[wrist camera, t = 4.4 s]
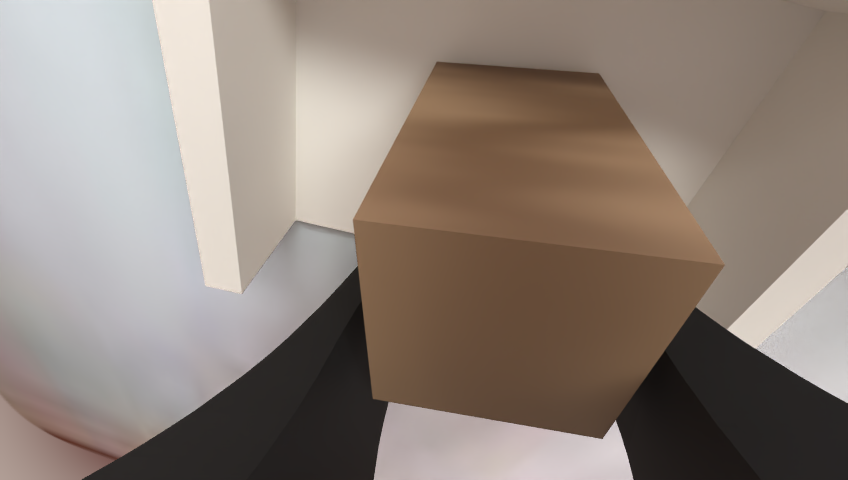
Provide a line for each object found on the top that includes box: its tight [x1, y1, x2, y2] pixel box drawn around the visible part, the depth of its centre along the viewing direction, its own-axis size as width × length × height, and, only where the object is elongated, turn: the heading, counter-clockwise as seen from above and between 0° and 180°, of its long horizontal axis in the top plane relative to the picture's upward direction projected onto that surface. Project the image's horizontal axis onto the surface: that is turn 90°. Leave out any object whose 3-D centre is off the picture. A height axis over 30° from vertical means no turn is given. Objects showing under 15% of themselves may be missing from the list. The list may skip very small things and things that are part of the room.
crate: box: [152, 0, 848, 349], centre depth 9 cm, size 14×10×4 cm
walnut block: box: [353, 62, 725, 439], centre depth 8 cm, size 4×4×7 cm
